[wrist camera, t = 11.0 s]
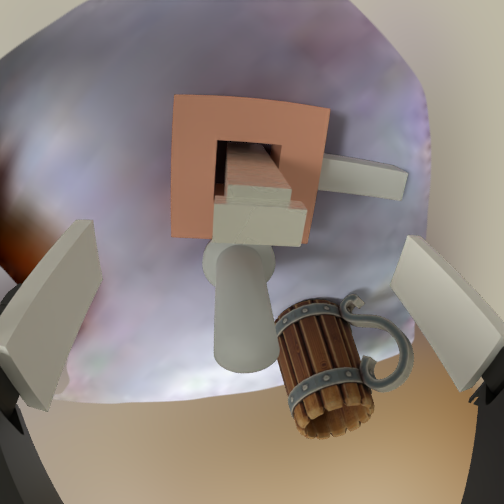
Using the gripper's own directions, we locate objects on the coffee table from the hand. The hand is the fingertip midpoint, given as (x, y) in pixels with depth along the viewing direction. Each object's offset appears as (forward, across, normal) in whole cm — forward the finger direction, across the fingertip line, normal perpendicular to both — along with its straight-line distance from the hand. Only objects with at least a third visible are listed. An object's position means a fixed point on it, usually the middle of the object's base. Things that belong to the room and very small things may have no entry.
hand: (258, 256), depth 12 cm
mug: (+18, +13, -19) cm, 29 cm away
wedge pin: (+18, +1, 0) cm, 18 cm away
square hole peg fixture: (+18, +6, -3) cm, 19 cm away
